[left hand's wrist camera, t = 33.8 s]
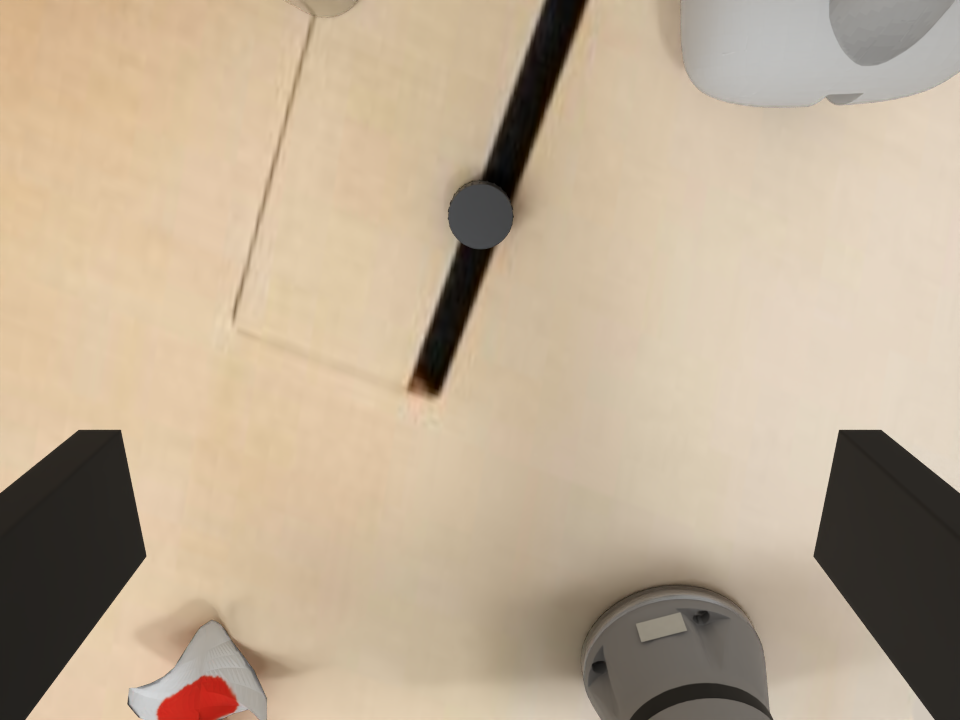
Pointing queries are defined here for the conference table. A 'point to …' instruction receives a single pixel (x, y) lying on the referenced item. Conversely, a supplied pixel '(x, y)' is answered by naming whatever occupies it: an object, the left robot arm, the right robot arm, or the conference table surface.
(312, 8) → the bottle
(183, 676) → the fish
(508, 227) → the cap
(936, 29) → the projector
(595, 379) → the conference table surface
